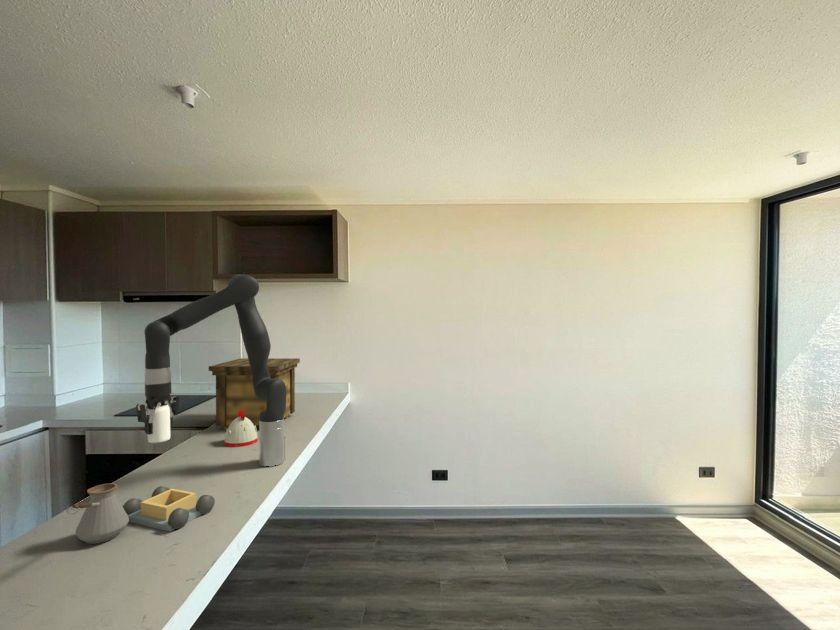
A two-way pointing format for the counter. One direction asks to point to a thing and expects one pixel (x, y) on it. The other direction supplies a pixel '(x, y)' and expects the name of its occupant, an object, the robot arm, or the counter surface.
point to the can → (160, 424)
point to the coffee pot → (101, 515)
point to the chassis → (168, 508)
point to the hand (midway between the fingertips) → (159, 430)
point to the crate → (249, 389)
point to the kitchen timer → (241, 432)
